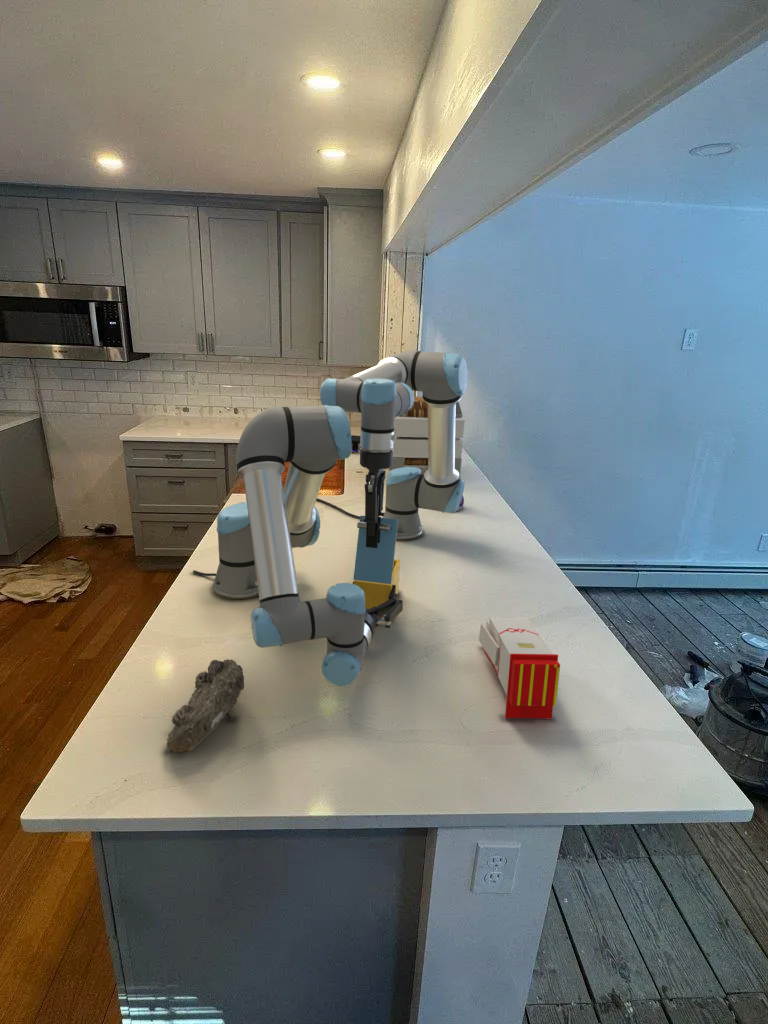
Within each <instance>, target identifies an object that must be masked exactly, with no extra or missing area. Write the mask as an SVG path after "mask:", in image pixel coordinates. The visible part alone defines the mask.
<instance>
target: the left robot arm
mask: <svg viewBox="0 0 768 1024" xmlns="http://www.w3.org/2000/svg"><path fill="white" fill-rule="evenodd" d="M351 435H352V433H351V425H350V422H349V418H348V415H347V413H346V411H344V410H343V409H342V408H341V407H339V406H328V405H324V406H323V405H302V406H301V405H298V406H296V405H295V406H271V407H268V408H265V409H262V410H261V411H260V412H258V413H257V414H256V415H254V416H253V417H252V418H251V420H250V421H248V423H247V425H246V426H245V427H244V430H243V431H242V432H241V435H240V438H239V440H238V444H237V447H236V456H235V464H236V473H237V476H238V477H240V478H241V479H242V480H243V484H244V492H245V493H244V494H245V500H246V502H238V503H234V504H231V505H228V506H226V507H224V508H223V509H221V510H220V511H219V513H218V514H217V517H216V521H217V522H216V533H217V541H218V543H217V544H218V545H217V546H218V557H219V558H218V561H219V562H218V565H217V570H216V573H213V572H212V573H209V572H208V573H207V572H206V573H205V572H201V571H198V570H192V573H193V574H197V575H200V576H204V577H214V580H213V591H214V593H215V594H217V595H218V596H219V597H221V598H226V599H229V600H247V599H253V598H256V597H258V599H259V604H260V605H259V607H257V608H254V609H252V611H251V613H250V625H251V634H252V638H253V641H254V644H255V645H256V646H257V647H258V648H262V649H263V648H271V647H282V646H284V645H290V644H294V643H299V642H305V641H312V640H317V639H324V638H326V654H325V655H324V657H323V659H322V664H321V672H322V676H323V677H324V678H325V680H327V682H329V683H330V684H332V685H334V686H338V687H347V686H350V685H351V684H353V682H355V681H356V679H357V678H358V676H359V674H360V673H361V671H362V666H363V663H364V660H365V657H366V655H367V652H368V649H369V646H370V644H371V641H372V638H373V635H374V633H375V630H376V628H377V627H379V625H383V626H384V627H385V629H390V628H391V625H392V623H393V622H394V620H395V619H396V618H397V617H398V616H399V615H400V613H402V612H403V610H404V609H403V608H404V607H403V605H404V600H402V599H399V593H398V594H395V593H396V585H393V587H392V589H391V592H390V595H389V600H388V601H386V602H384V603H382V604H381V605H379V606H377V607H375V606H374V607H372V608H371V609H365V595H364V591H363V590H362V589H361V588H360V587H359V586H357V585H354V580H353V581H352V583H351V582H340V583H335V585H331V586H330V587H329V588H328V589H327V593H326V597H324V598H319V599H318V598H317V599H312V600H305V601H301V600H300V596H299V594H300V593H299V587H298V581H297V573H296V566H295V559H294V553H293V549H294V548H295V549H296V548H300V549H301V548H305V547H309V546H313V545H315V543H317V542H318V539H319V537H320V533H321V532H320V529H321V518H320V517H321V516H320V514H319V510H318V508H317V507H316V506H315V505H316V503H317V500H316V499H317V498H318V496H319V493H320V490H321V487H322V484H323V481H324V480H325V479H324V478H325V476H326V474H327V473H328V472H330V471H331V470H333V469H334V467H336V464H337V461H338V460H341V461H343V460H347V459H349V457H350V456H351V454H352V450H351V447H352V442H351ZM285 463H289V465H288V469H287V473H286V477H285V482H284V484H283V479H282V475H283V473H284V472H285V471H286V465H285ZM283 485H284V486H283ZM385 614H386V615H385ZM383 615H384V617H382V616H383ZM380 617H382V618H381V619H379V618H380Z"/></svg>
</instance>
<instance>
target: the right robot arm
mask: <svg viewBox="0 0 768 1024" xmlns="http://www.w3.org/2000/svg"><path fill="white" fill-rule="evenodd" d="M467 366H468V365H467V361H466V360H465V358H464V356H462V355H461V354H458V353H451V352H439V351H438V352H437V351H424V350H423V351H421V350H410V351H409V350H407V351H402V352H398V353H395V354H392V355H389V356H386V357H384V358H383V359H381V360H380V361H379V362H378V363H377V365H375V366H372V367H370V368H367V369H365V370H363V371H360V372H357V373H356V374H353V375H351V376H348V377H346V378H337V377H335V378H326V379H325V380H324V381H323V382H322V384H321V386H320V389H319V390H320V391H319V399H320V403H321V406H324V405H328V406H339V407H341V408H342V409H343V410H344V411H345V412H348V413H358V414H361V415H360V432H359V433H360V435H359V436H360V447H361V450H359V465H360V466H361V467H362V468H365V469H367V470H368V472H367V474H366V475H365V483H364V516H365V519H364V520H363V522H367V527H366V547H370V548H377V547H378V543H380V530H378V524H379V523H380V524H381V518H390V519H398V525H397V535H396V541H410V540H415V539H418V538H420V537H421V536H422V535H423V524H421V518H420V515H419V509H424V510H429V511H435V512H441V513H442V514H443V513H447V514H448V513H449V514H454V513H456V512H458V511H457V509H458V507H459V505H460V502H461V499H462V495H463V496H464V491H465V484H466V483H465V480H463V479H462V478H460V479H459V473H458V471H457V470H456V469H455V418H456V403H457V402H460V401H461V399H462V396H464V395H465V393H466V391H467V388H468V380H469V375H468V374H469V373H468V367H467ZM414 392H421V393H422V395H421V396H422V397H423V400H424V401H425V402H426V403H427V404H428V466H427V468H428V469H427V470H425V471H424V473H422V469H421V468H419V467H417V466H404V467H402V468H397V469H393V470H391V471H390V470H389V472H388V473H386V470H387V469H390V467H391V466H392V464H393V451H392V450H391V449H392V448H393V440H396V436H393V434H394V423H395V417H397V416H400V415H403V414H405V413H406V412H407V411H408V410H410V409H411V407H412V405H413V403H414V396H415V395H414ZM386 474H387V475H386ZM385 481H386V482H385ZM384 492H385V493H384ZM384 494H385V504H384ZM316 502H320V503H323V504H325V505H328V506H329V507H332V508H333V509H336V510H338V511H340V512H342V513H343V514H345V515H348V516H349V517H352V518H354V519H359V520H360V516H361V515H356V514H353V513H350V512H348V511H346V510H344V509H343V508H341V507H339V506H337V505H335V504H333V503H330V502H328V501H326V500H323V499H321V498H318V497H317V499H316ZM384 505H385V507H384ZM384 508H385V509H384ZM383 510H384V512H382V511H383Z"/></svg>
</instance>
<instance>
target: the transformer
mask: <svg viewBox="0 0 768 1024" xmlns="http://www.w3.org/2000/svg"><path fill="white" fill-rule="evenodd" d="M464 429H465V419H464V418H463V411H462V408H461V405H460V401H458V402H457V403H456V418H455V469H456V470H457V471H458V472H459V479H461V472H462V461H463V460H462V453H463V442H464V441H463V440H462V439H463V438H464V431H465V430H464ZM393 436H396V440H393V448H392V449H391V450H392V451H393V464H392V466H391V467H390V468H389V472H390V471H391V470H393V469H397V468H402V467H405V466H406V467H417V466H418V467H428V404H427V403H426V402H425V401H424V400H423V396H415V395H414V403H413V405H412V407H411V409H410V410H408V411H407V412H406V413H405V414H403V415H400V416H397V417H395V423H394V434H393Z"/></svg>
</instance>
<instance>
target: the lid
mask: <svg viewBox="0 0 768 1024" xmlns="http://www.w3.org/2000/svg"><path fill="white" fill-rule="evenodd" d="M359 516H360V519H359V521H357V523H356V524H357V525H356V528H357V529H358V534H357V543H356V553H355V561H354V570H353V578H352V580H353V581H354V580H360V581H369V582H377V583H386V584H391V582H392V572H393V563H394V559H395V553H396V543H397V540H396V535H397V525H398V519H390V518H383V517H381V524H380V523H379V524H378V530H380V543H378V547H377V548H370V547H366V527H367V522H363V520H364V519H365V515H359Z"/></svg>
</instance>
